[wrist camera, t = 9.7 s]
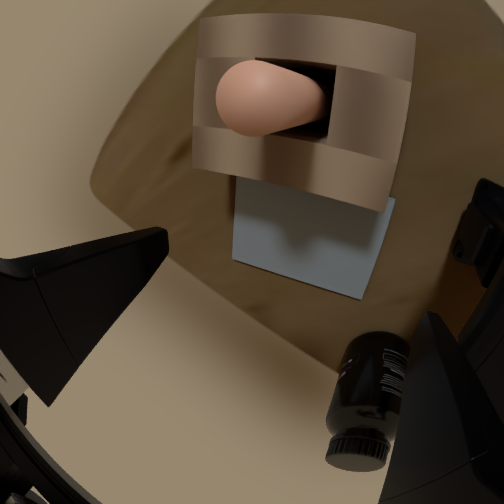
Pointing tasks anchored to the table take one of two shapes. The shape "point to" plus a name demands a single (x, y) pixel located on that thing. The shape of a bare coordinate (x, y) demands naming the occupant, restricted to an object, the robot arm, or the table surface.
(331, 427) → the supplement bottle
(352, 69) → the socket block
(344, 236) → the mat
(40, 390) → the robot arm
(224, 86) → the dowel
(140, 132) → the table surface
